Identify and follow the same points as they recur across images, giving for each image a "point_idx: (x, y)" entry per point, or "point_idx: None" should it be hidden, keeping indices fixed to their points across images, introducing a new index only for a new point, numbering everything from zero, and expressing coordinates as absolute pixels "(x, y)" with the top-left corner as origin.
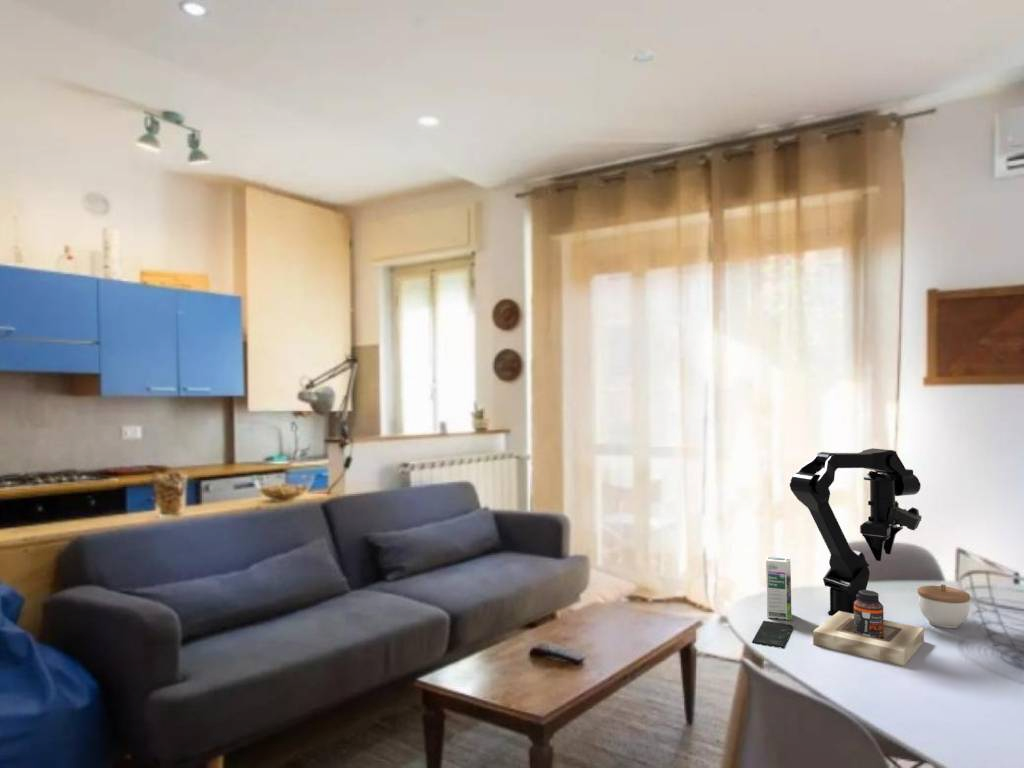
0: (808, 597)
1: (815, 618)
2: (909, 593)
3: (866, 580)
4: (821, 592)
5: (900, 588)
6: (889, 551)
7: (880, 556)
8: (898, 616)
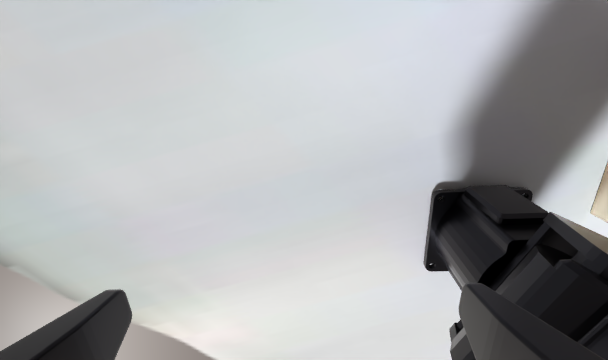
0: (356, 346)
1: None
2: (39, 137)
3: (597, 243)
4: (277, 337)
5: (6, 180)
6: (106, 314)
7: (526, 318)
8: (384, 81)
